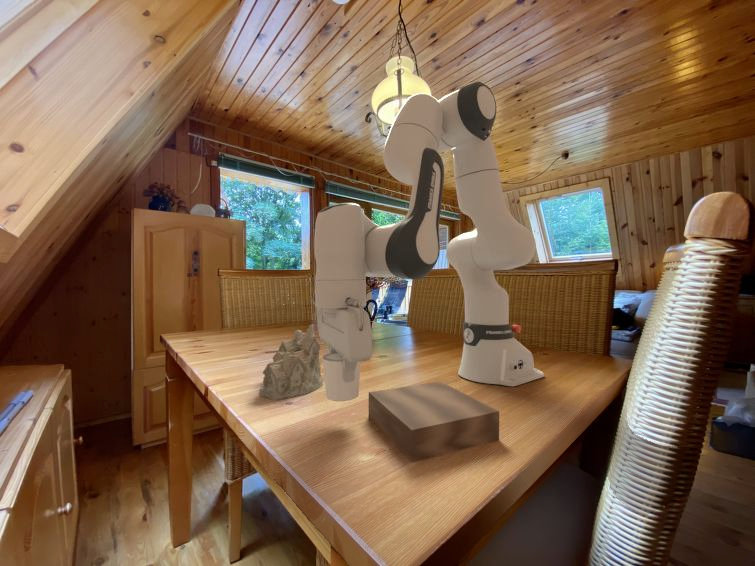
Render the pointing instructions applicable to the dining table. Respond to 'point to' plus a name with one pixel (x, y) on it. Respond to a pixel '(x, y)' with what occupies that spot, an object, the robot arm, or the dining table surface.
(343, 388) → the white cup
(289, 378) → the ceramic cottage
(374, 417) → the walnut block
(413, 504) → the dining table surface
